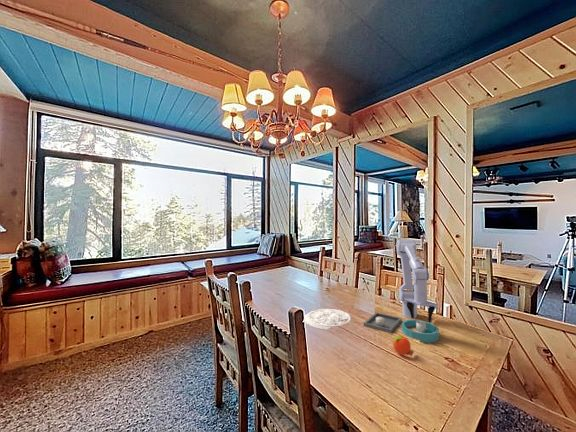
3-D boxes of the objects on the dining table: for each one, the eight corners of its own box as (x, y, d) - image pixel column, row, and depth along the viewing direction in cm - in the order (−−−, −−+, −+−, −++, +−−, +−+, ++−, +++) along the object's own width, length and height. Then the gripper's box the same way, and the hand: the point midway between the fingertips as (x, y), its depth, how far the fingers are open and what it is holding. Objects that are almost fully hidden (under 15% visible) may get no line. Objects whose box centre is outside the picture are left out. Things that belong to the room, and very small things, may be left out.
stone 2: (417, 328, 132) (417, 320, 132) (426, 330, 129) (426, 322, 129) (415, 331, 128) (415, 323, 128) (425, 333, 126) (424, 325, 126)
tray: (376, 316, 149) (376, 312, 149) (401, 322, 140) (401, 318, 140) (363, 327, 135) (363, 322, 135) (391, 335, 126) (390, 330, 126)
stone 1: (377, 323, 138) (377, 315, 138) (385, 325, 135) (385, 317, 135) (374, 326, 134) (374, 318, 134) (383, 328, 132) (382, 320, 132)
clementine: (398, 359, 106) (398, 342, 106) (387, 350, 112) (387, 334, 112) (414, 355, 108) (414, 339, 108) (402, 347, 115) (402, 331, 115)
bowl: (407, 324, 138) (406, 317, 138) (441, 332, 128) (441, 324, 127) (397, 336, 125) (397, 327, 125) (435, 346, 115) (435, 337, 115)
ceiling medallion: (355, 332, 131) (355, 326, 131) (300, 328, 137) (300, 323, 137) (352, 311, 158) (352, 306, 158) (307, 309, 164) (307, 304, 164)
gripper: (402, 292, 130) (403, 318, 130) (435, 297, 121) (435, 326, 121) (406, 288, 136) (407, 314, 136) (438, 293, 126) (438, 321, 127)
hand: (421, 319), depth 129 cm, fingers open, 7 cm apart
